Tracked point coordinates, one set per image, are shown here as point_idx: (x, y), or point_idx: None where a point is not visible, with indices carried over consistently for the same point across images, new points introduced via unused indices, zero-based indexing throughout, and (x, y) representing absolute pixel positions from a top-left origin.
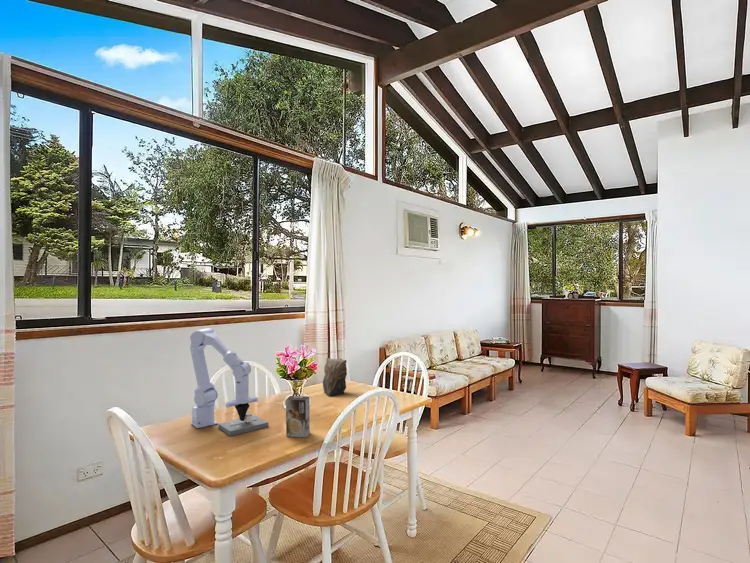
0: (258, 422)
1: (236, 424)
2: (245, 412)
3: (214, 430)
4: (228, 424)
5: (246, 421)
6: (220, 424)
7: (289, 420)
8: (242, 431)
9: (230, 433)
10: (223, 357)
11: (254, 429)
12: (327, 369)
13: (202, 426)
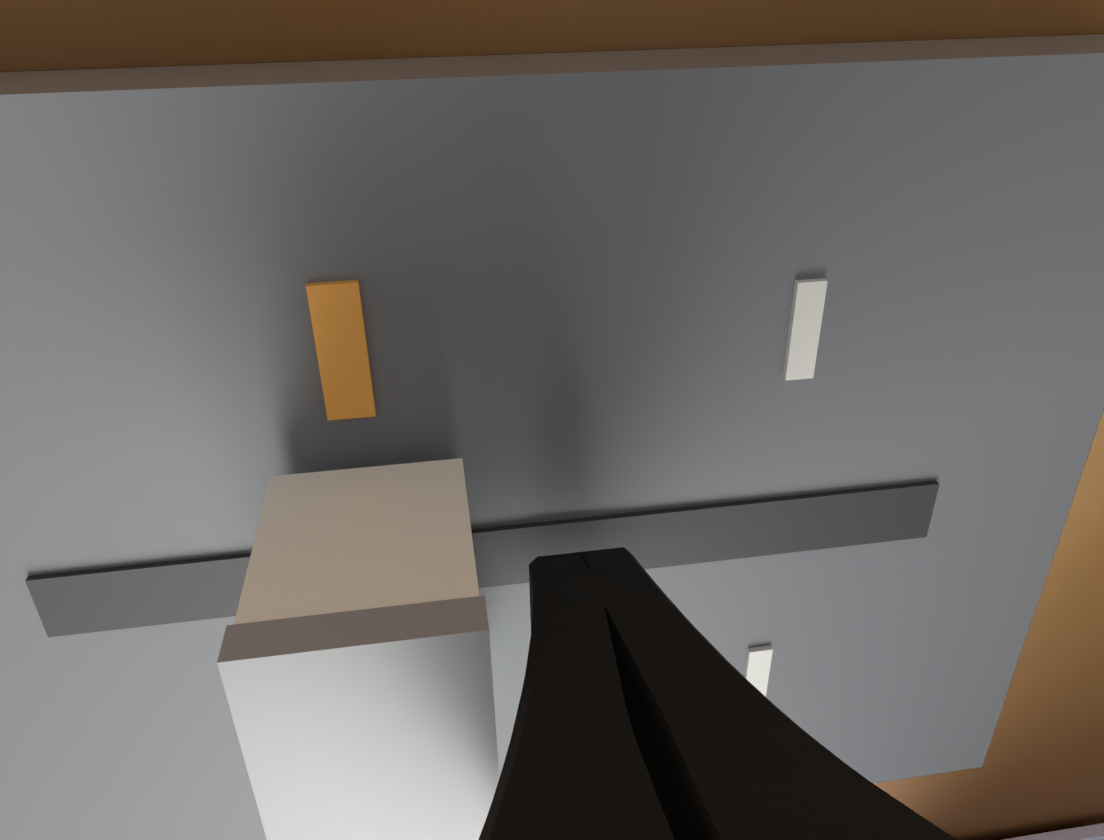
0: (35, 344)
1: (740, 525)
2: (559, 770)
3: (1047, 617)
4: (870, 634)
5: (466, 499)
6: (984, 711)
7: None
8: (751, 52)
9: None
10: None
11: (301, 63)
12: None
13: (1086, 835)
